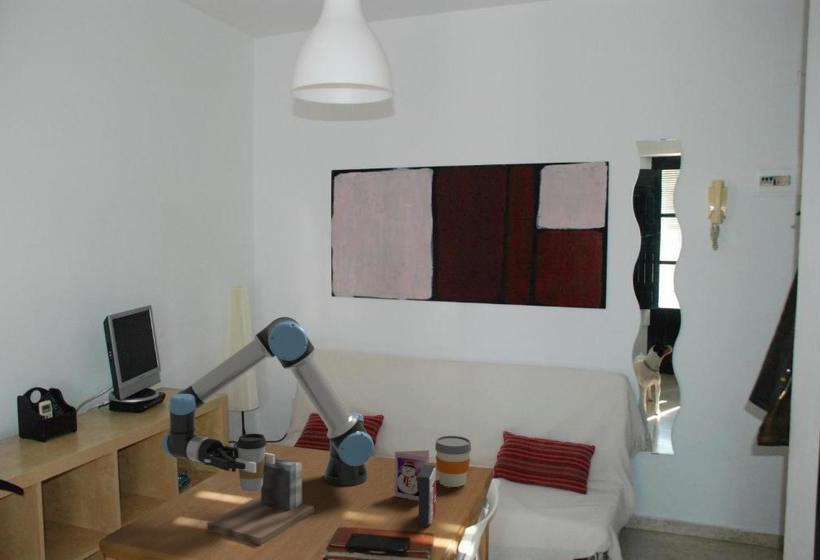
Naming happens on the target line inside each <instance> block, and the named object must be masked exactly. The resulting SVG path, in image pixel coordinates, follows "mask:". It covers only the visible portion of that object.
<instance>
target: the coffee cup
mask: <svg viewBox="0 0 820 560" xmlns="http://www.w3.org/2000/svg"><path fill="white" fill-rule="evenodd" d="M236 444H237V447H238V458H237V459H241V460H246V461H250V462H255V463H256V472H255V473H252V472H248V471H244V470H239V469H238V473H239V475H238V476H239V482H240V488H241V490H243V491H245V492H255V491H259V490H261V488H262V485H263V477H264V464H265V453H266V446H267V440H266V438H265V435H264V434H262V433H246V434H243V435H242V434H241V435H240V436H239V437H238V440H237V443H236Z"/></svg>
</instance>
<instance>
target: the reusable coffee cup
mask: <svg viewBox="0 0 820 560" xmlns="http://www.w3.org/2000/svg"><path fill="white" fill-rule="evenodd" d="M434 449H435V451H436V455H435V461H436V469H437V470H436V471H438V477H439V478H438V480H439V484H440V483H441V484H442V485H444V486H443V487H445V486H448V487H447V488H449V487H458V486H462V485H464V484H465V485H466V481H467V476H468V475H467V474H468V472H469V469H470V468H469V467H470V463H471V456H470V454H471V451H472V444H471V440H470V439H469V438H468V437H465V436H461V435H460V436H459V435H444V436H440V437H438V438H436V440H435V448H434ZM441 484H440V485H441ZM442 485H441V486H442ZM465 485H464V486H465ZM462 487H463V486H462ZM458 488H459V487H458Z"/></svg>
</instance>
